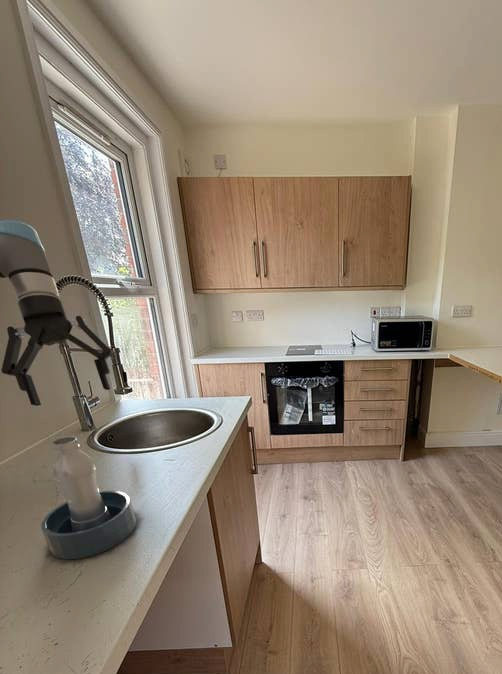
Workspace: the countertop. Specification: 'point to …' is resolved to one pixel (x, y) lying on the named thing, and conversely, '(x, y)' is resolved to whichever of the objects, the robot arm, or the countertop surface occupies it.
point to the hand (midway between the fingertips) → (72, 396)
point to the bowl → (94, 539)
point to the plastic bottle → (78, 484)
